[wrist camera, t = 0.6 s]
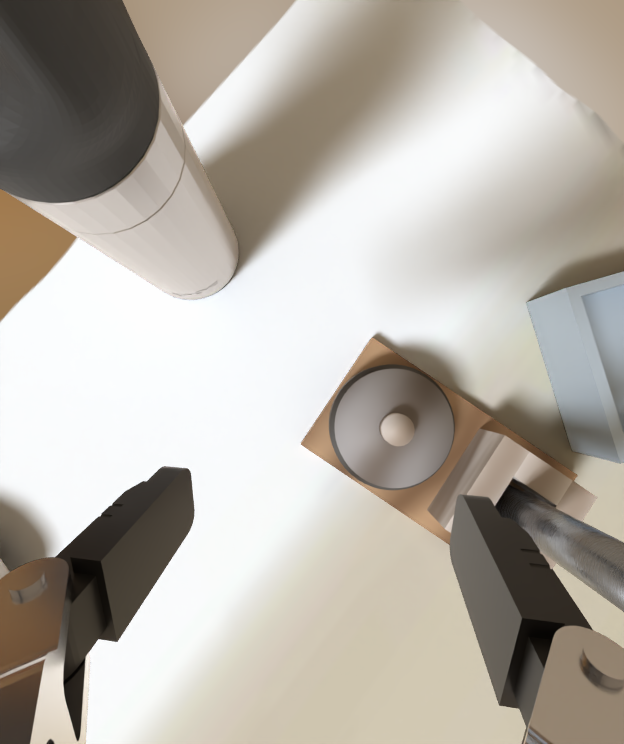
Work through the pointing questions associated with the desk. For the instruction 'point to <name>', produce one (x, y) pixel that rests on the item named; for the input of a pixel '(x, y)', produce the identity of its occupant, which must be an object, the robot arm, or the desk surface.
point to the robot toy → (3, 569)
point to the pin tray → (586, 361)
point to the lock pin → (569, 543)
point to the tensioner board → (430, 445)
